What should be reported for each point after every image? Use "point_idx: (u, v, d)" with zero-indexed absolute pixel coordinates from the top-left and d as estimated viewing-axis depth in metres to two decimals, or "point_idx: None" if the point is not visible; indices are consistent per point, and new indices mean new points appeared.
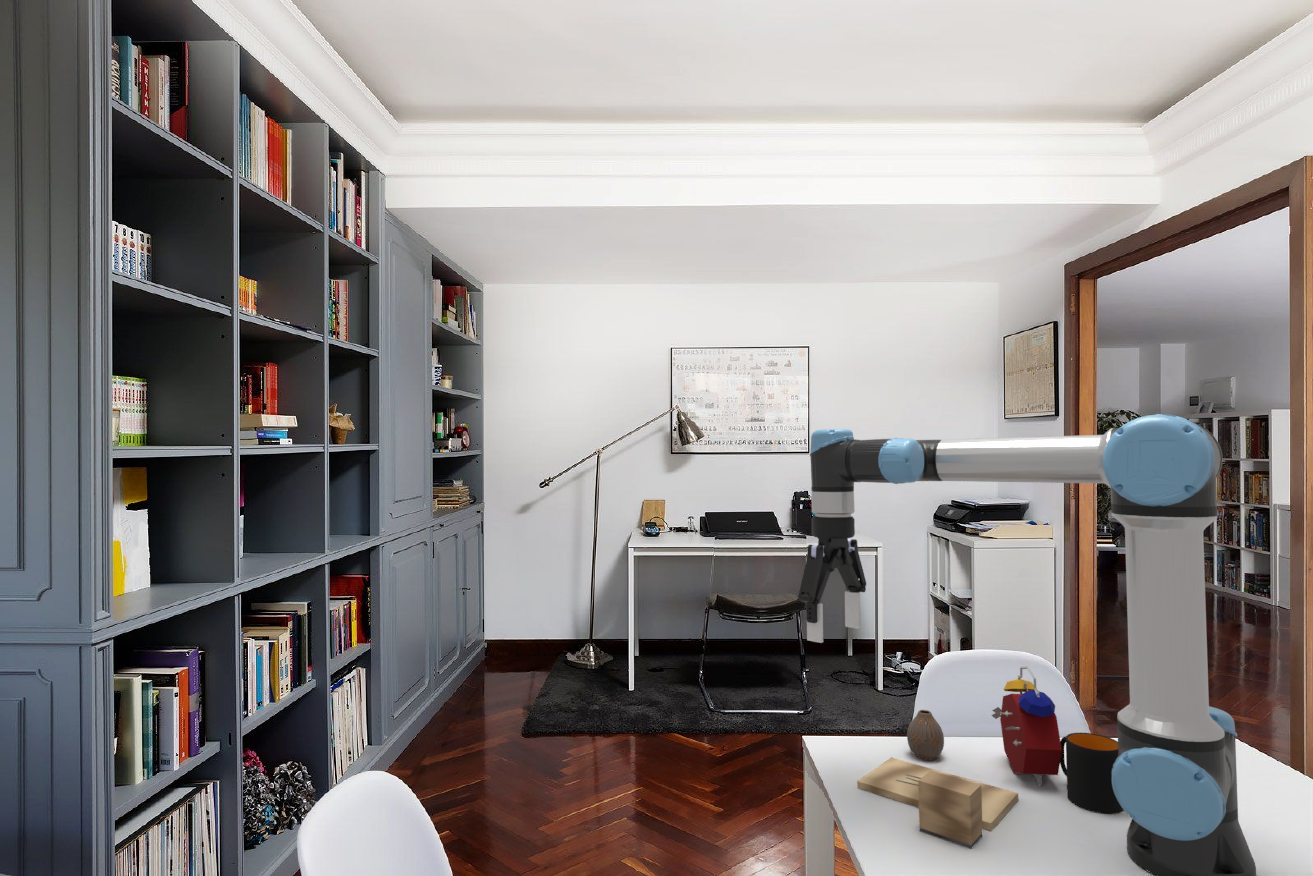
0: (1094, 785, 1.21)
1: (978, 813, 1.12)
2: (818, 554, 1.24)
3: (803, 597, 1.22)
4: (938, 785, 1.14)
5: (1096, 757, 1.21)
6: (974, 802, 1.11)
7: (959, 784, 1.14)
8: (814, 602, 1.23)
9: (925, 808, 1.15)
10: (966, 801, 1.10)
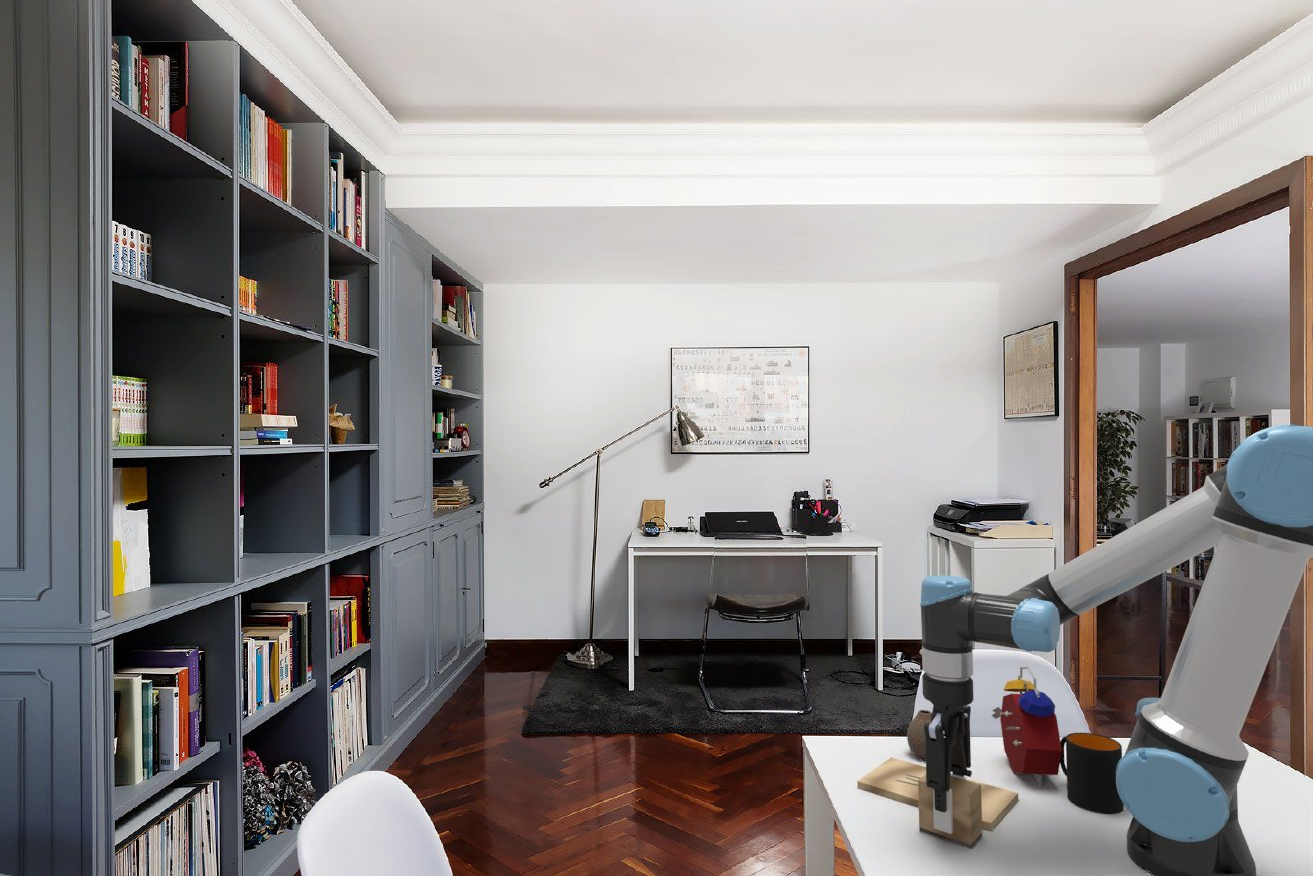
0: (1094, 785, 1.21)
1: (978, 813, 1.12)
2: (939, 738, 1.10)
3: (932, 786, 1.10)
4: None
5: (1096, 757, 1.21)
6: (974, 802, 1.11)
7: (959, 783, 1.14)
8: (944, 789, 1.11)
9: (924, 808, 1.15)
10: (965, 800, 1.10)
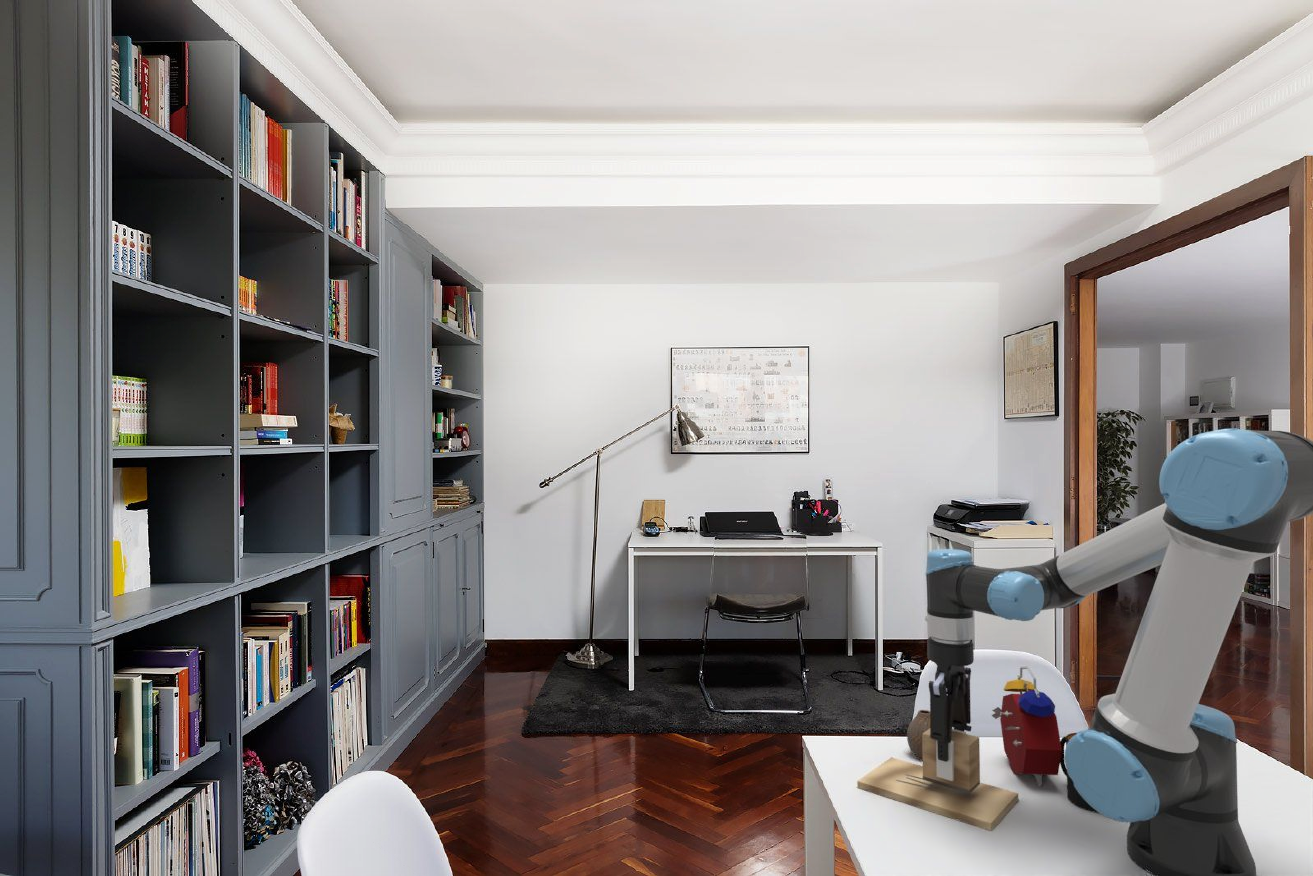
0: None
1: (976, 762, 1.24)
2: (942, 694, 1.21)
3: (936, 738, 1.22)
4: None
5: None
6: (973, 752, 1.23)
7: (959, 737, 1.26)
8: None
9: (928, 759, 1.27)
10: (965, 750, 1.22)
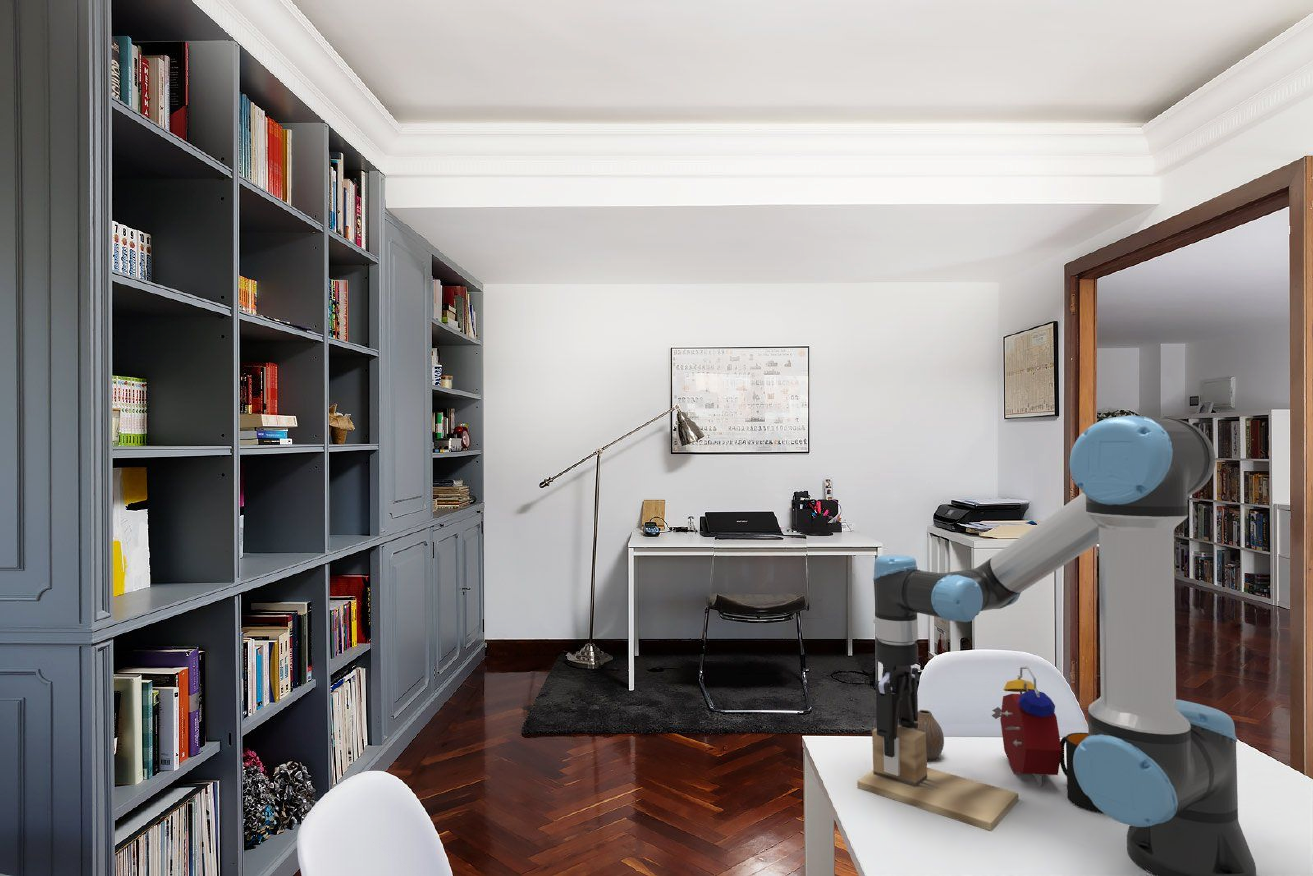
0: None
1: (923, 756, 1.31)
2: (887, 693, 1.28)
3: (882, 735, 1.28)
4: None
5: None
6: (919, 747, 1.30)
7: (907, 732, 1.32)
8: (892, 737, 1.29)
9: (877, 754, 1.33)
10: (911, 745, 1.29)
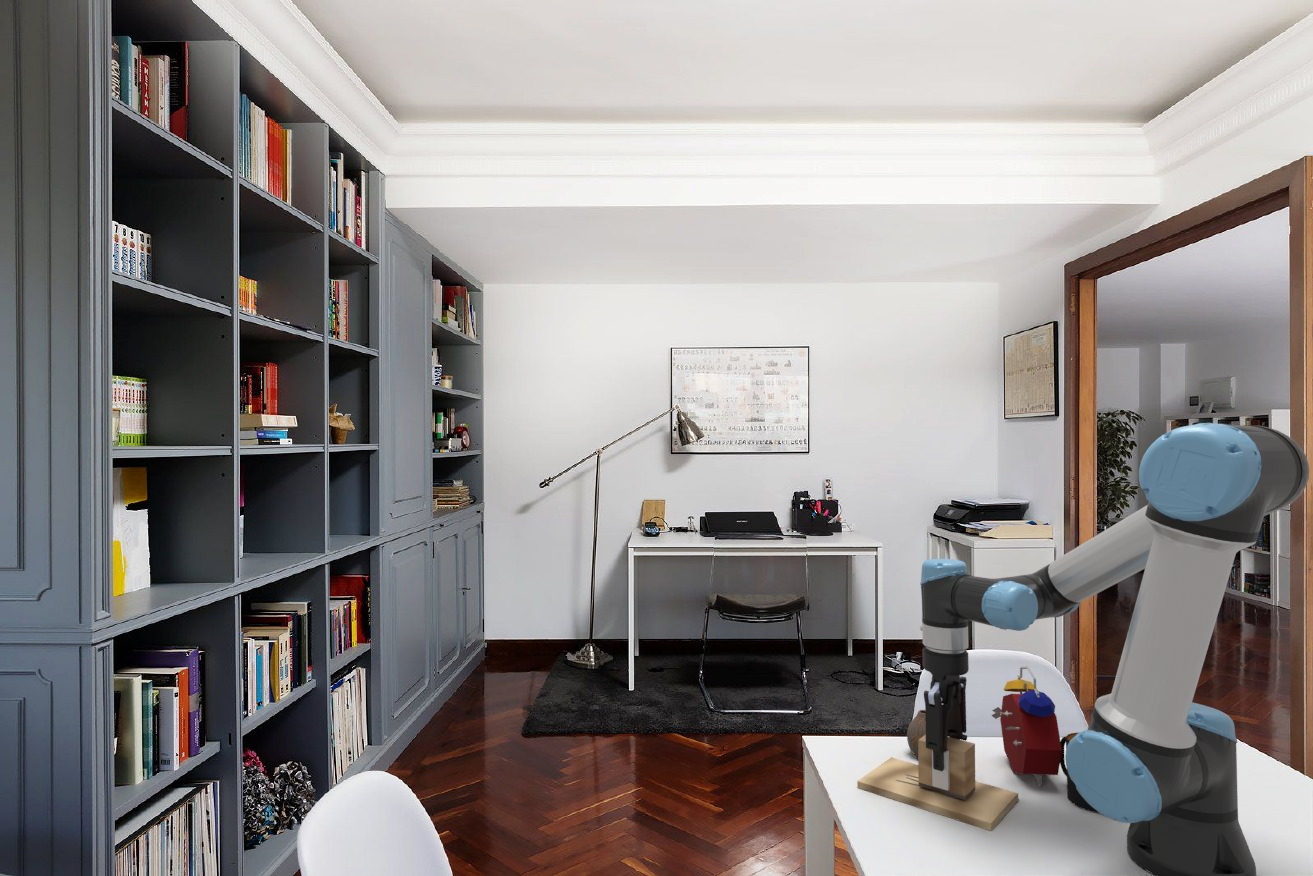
0: None
1: (972, 768, 1.25)
2: (937, 703, 1.22)
3: (931, 747, 1.23)
4: None
5: None
6: (968, 758, 1.24)
7: (955, 743, 1.26)
8: (942, 750, 1.23)
9: (923, 765, 1.27)
10: (961, 757, 1.23)
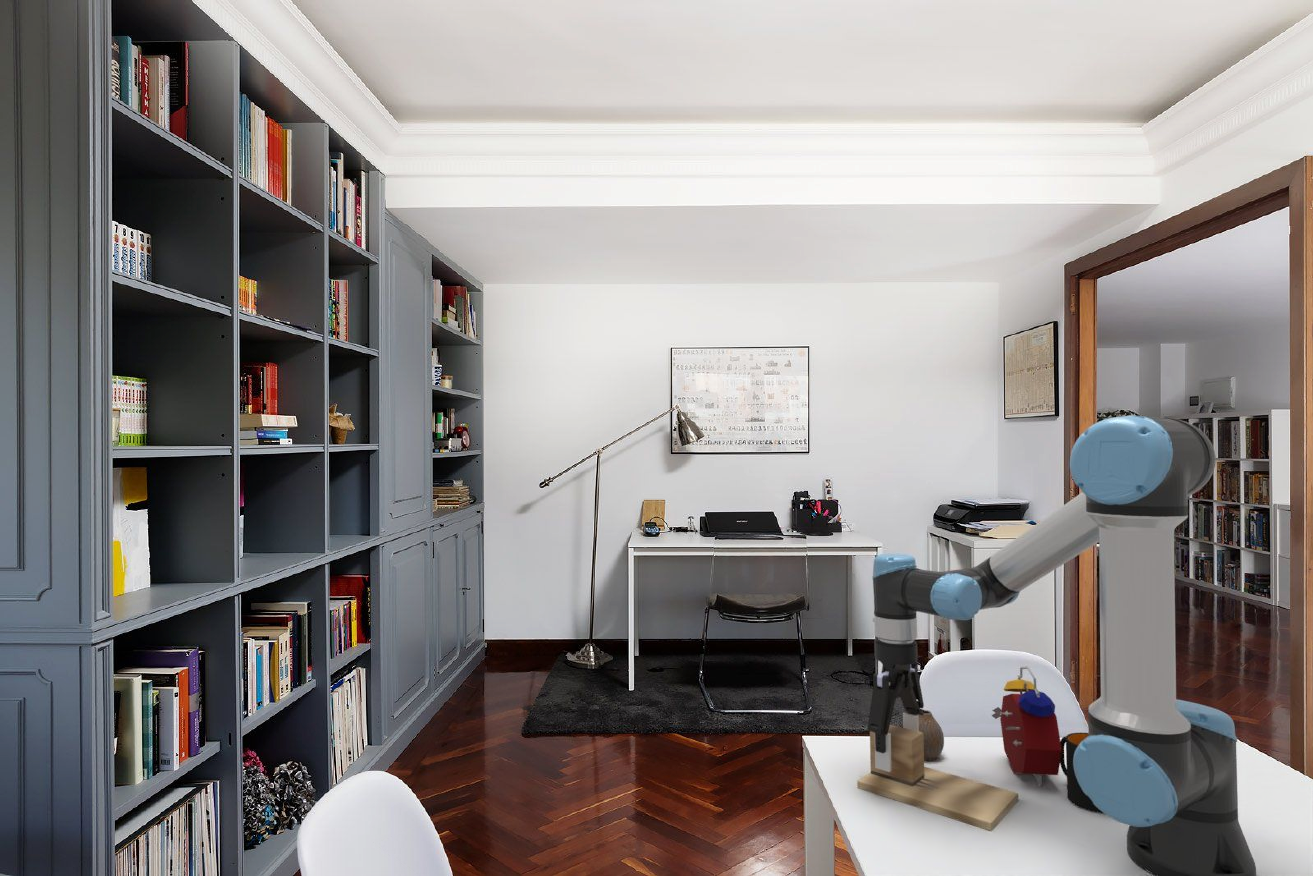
0: None
1: (920, 756, 1.31)
2: (884, 685, 1.28)
3: (873, 729, 1.26)
4: None
5: None
6: (916, 747, 1.30)
7: (904, 732, 1.32)
8: (883, 733, 1.27)
9: None
10: (908, 745, 1.29)
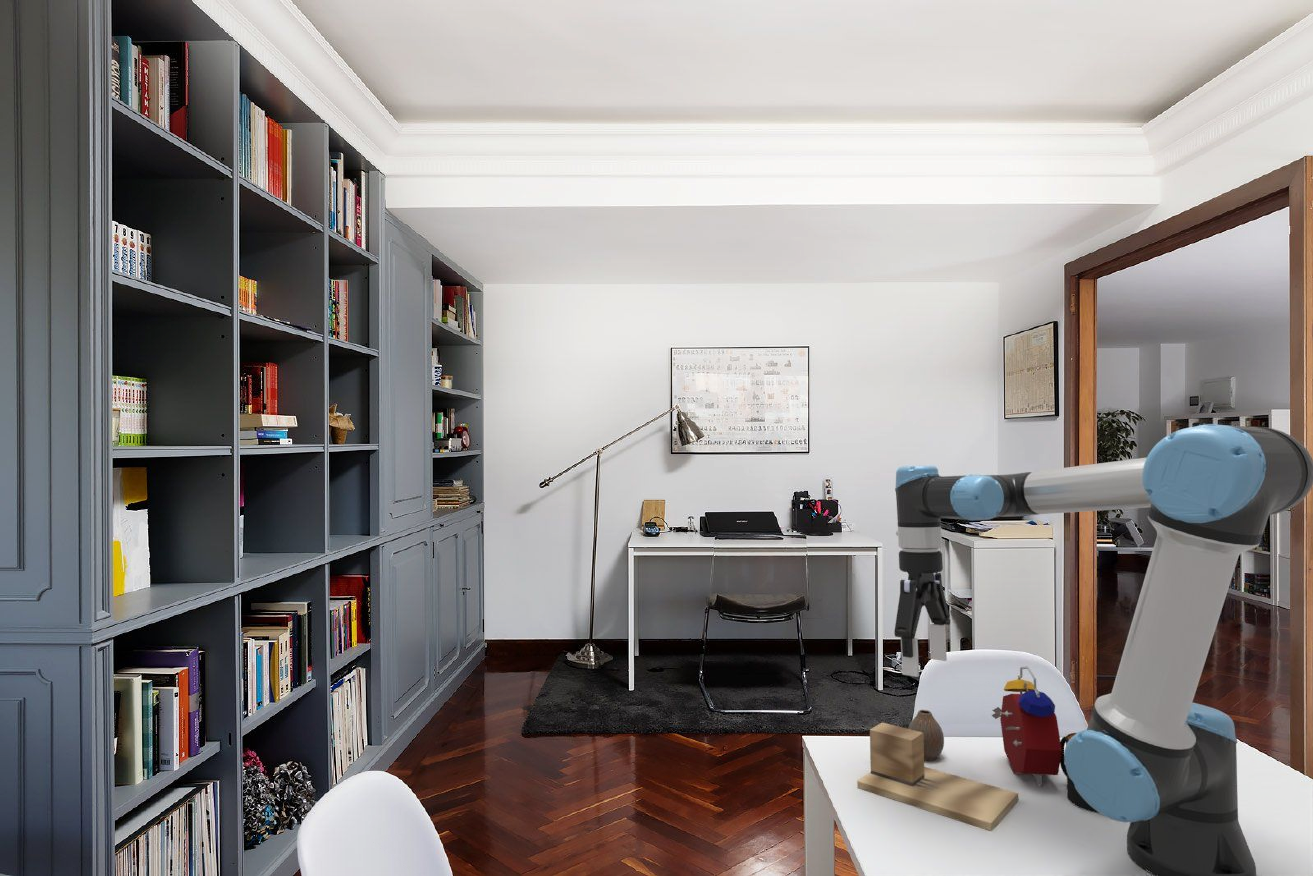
0: None
1: (920, 756, 1.31)
2: (912, 589, 1.27)
3: (900, 632, 1.25)
4: (886, 733, 1.32)
5: None
6: (916, 747, 1.30)
7: (904, 732, 1.32)
8: (910, 637, 1.25)
9: (875, 753, 1.33)
10: (908, 745, 1.29)
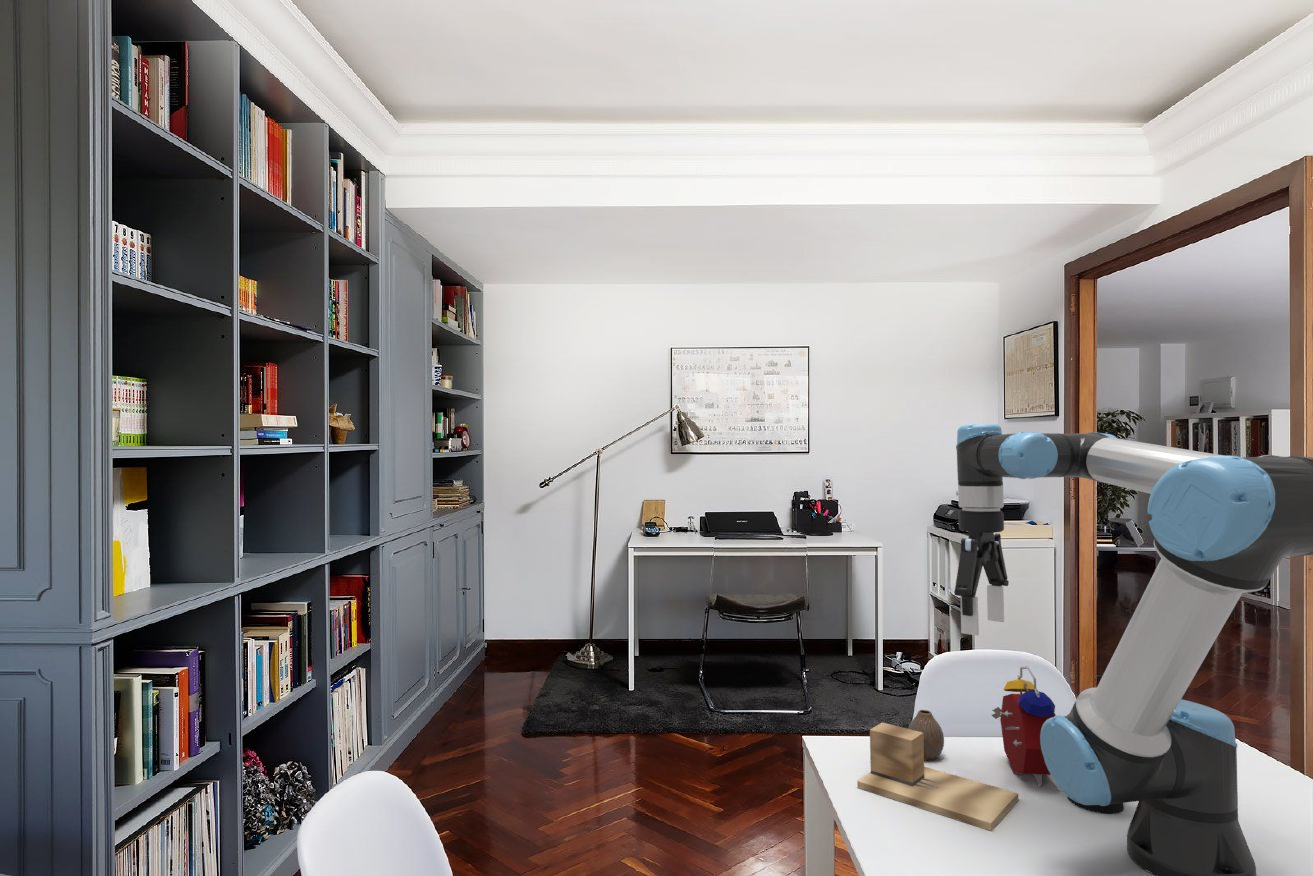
0: None
1: (920, 756, 1.31)
2: (973, 548, 1.25)
3: (960, 590, 1.24)
4: (886, 733, 1.32)
5: None
6: (916, 747, 1.30)
7: (904, 732, 1.32)
8: (971, 595, 1.24)
9: (875, 753, 1.33)
10: (908, 745, 1.29)
